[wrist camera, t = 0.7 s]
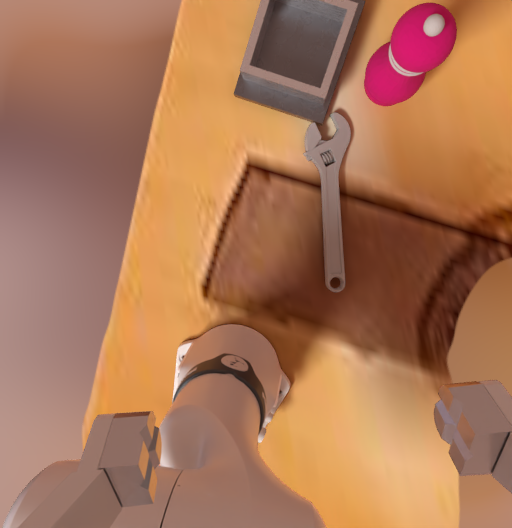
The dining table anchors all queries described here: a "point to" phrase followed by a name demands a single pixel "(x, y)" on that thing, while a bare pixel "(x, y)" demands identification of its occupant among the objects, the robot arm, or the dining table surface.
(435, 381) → the dining table surface
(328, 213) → the adjustable wrench
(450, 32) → the pepper mill
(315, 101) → the socket stand
